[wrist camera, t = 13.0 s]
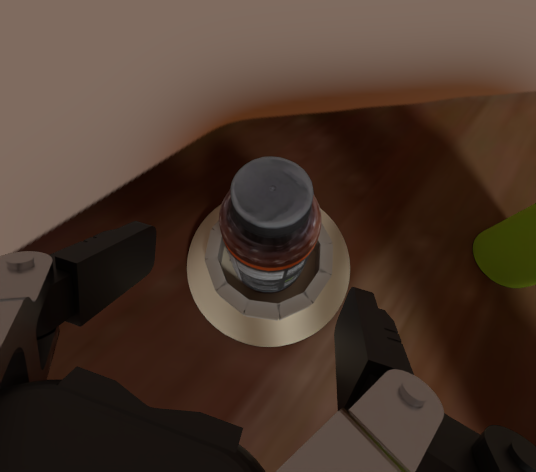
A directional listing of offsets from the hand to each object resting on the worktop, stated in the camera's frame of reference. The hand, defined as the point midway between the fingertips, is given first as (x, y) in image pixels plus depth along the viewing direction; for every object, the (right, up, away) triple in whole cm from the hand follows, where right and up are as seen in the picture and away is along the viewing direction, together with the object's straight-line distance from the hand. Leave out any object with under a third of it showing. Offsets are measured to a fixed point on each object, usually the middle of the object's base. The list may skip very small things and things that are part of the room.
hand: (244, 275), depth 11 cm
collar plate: (+1, -1, +14) cm, 14 cm away
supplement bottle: (+1, -1, +13) cm, 13 cm away
